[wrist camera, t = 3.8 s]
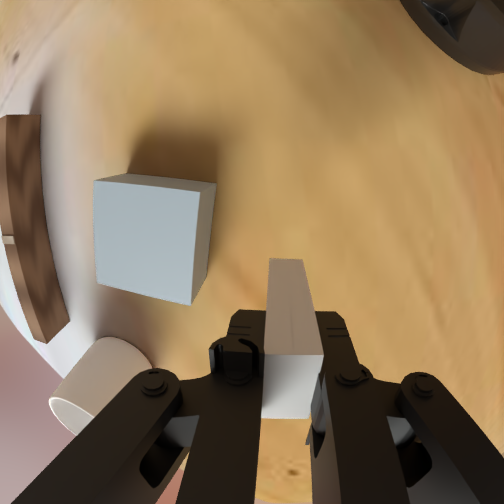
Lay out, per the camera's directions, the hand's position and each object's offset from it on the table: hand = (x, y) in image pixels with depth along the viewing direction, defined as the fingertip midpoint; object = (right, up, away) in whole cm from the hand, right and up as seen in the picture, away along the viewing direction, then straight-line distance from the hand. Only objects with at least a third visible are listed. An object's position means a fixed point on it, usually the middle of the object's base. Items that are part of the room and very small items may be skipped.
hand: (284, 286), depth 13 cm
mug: (-18, -13, +17) cm, 27 cm away
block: (-9, +4, +10) cm, 14 cm away
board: (-25, +5, +11) cm, 27 cm away
